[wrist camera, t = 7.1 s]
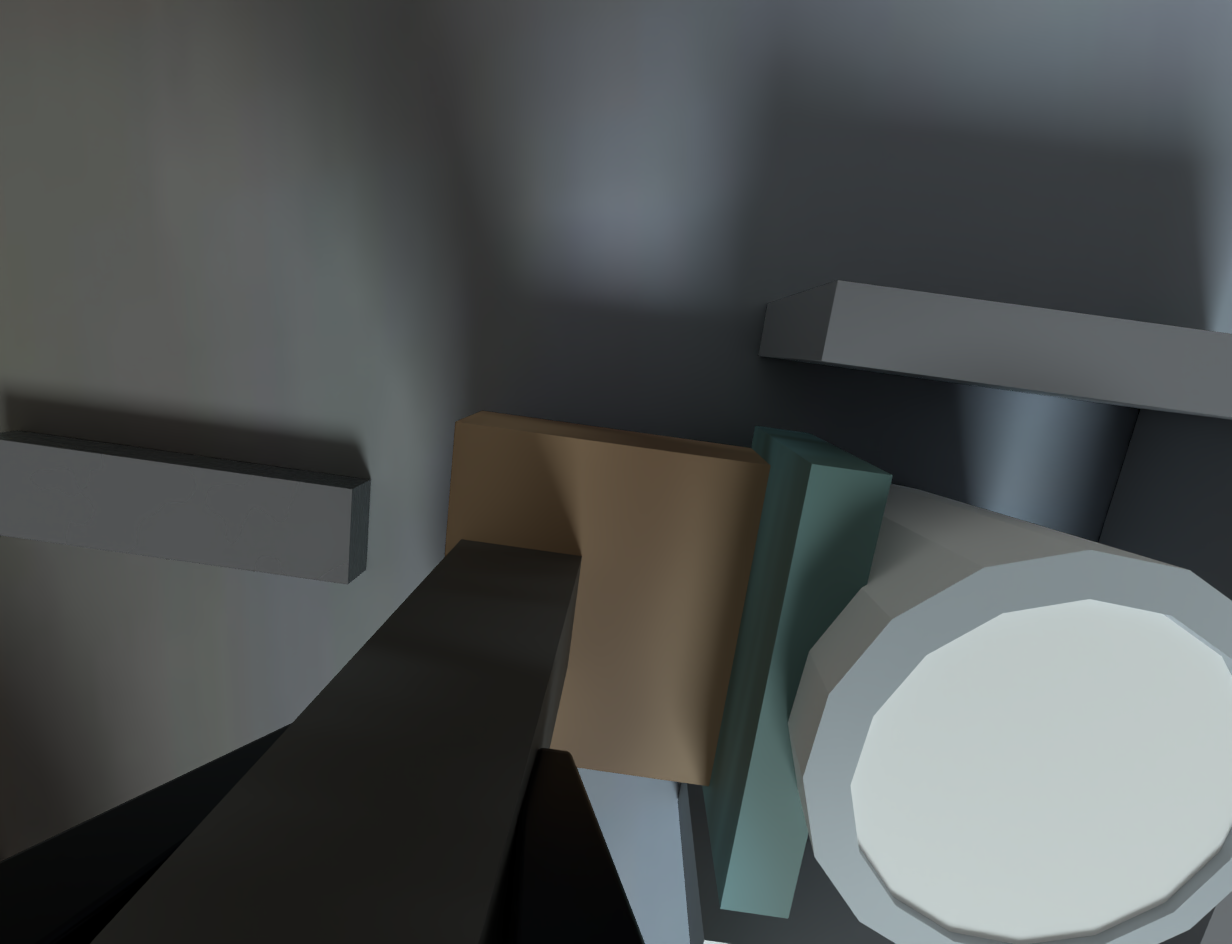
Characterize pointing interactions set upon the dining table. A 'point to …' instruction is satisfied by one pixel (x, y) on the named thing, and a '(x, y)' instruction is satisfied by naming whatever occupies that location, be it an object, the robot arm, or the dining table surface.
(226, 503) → the rail
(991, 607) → the white cylinder
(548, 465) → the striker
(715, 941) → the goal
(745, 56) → the dining table surface
